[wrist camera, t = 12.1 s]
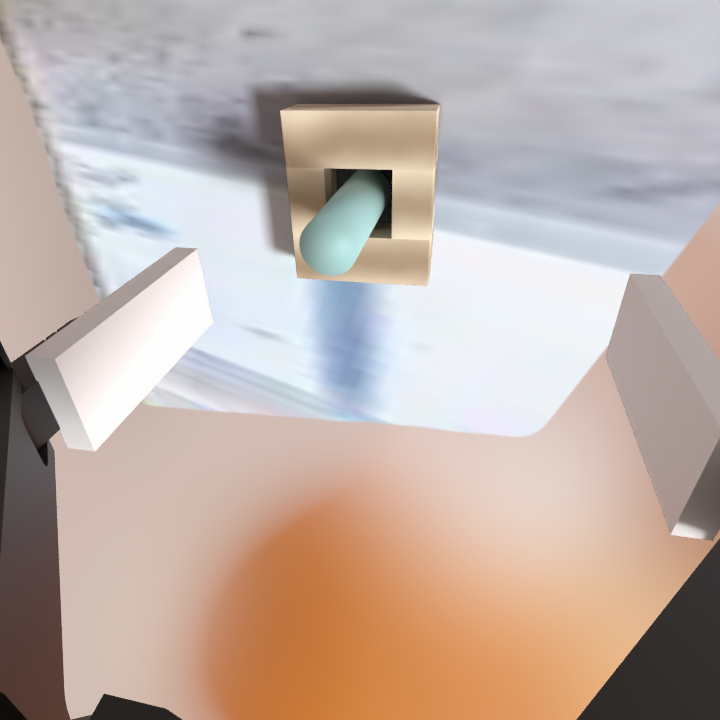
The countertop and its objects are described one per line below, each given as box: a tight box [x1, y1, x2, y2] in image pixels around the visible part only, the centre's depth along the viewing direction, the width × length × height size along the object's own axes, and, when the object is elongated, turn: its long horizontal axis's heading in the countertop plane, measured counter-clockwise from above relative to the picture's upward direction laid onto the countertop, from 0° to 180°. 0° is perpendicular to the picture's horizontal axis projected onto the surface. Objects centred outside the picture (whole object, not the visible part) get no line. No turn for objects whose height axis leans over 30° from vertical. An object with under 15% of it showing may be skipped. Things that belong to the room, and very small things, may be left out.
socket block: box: [280, 104, 440, 286], centre depth 43 cm, size 14×12×4 cm
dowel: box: [299, 169, 390, 276], centre depth 39 cm, size 4×4×14 cm
